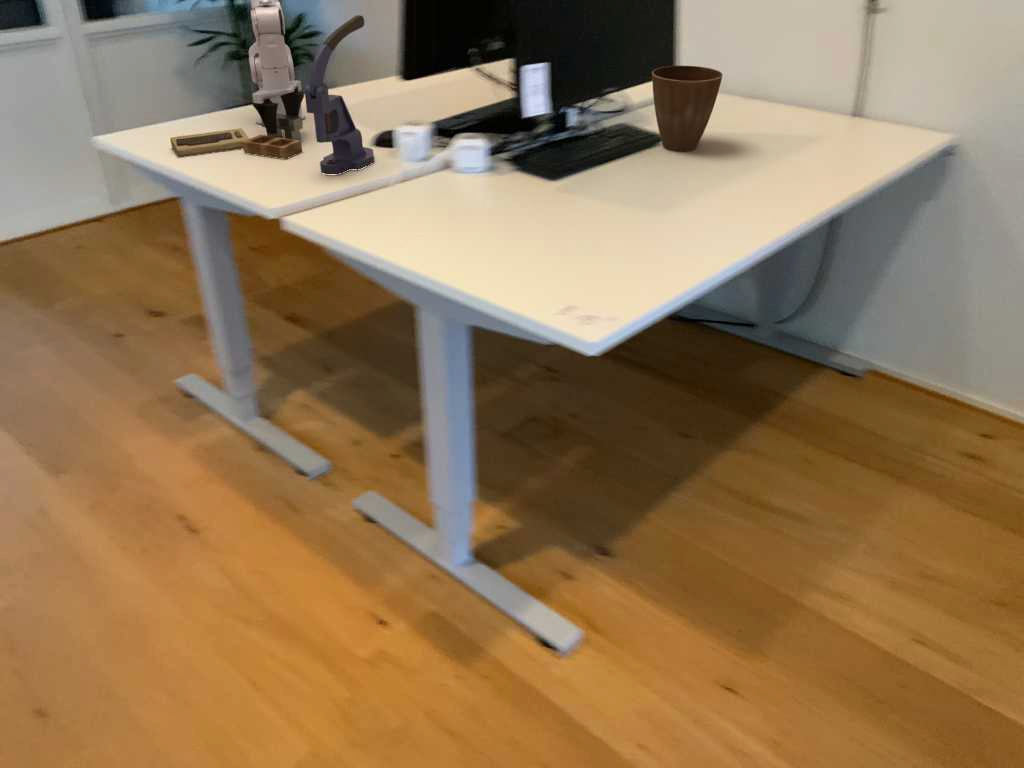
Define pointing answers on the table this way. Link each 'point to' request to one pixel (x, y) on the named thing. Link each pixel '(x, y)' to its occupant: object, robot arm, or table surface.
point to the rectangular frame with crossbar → (272, 146)
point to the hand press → (335, 111)
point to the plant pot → (684, 103)
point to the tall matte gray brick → (287, 126)
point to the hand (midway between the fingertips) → (282, 129)
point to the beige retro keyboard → (208, 142)
